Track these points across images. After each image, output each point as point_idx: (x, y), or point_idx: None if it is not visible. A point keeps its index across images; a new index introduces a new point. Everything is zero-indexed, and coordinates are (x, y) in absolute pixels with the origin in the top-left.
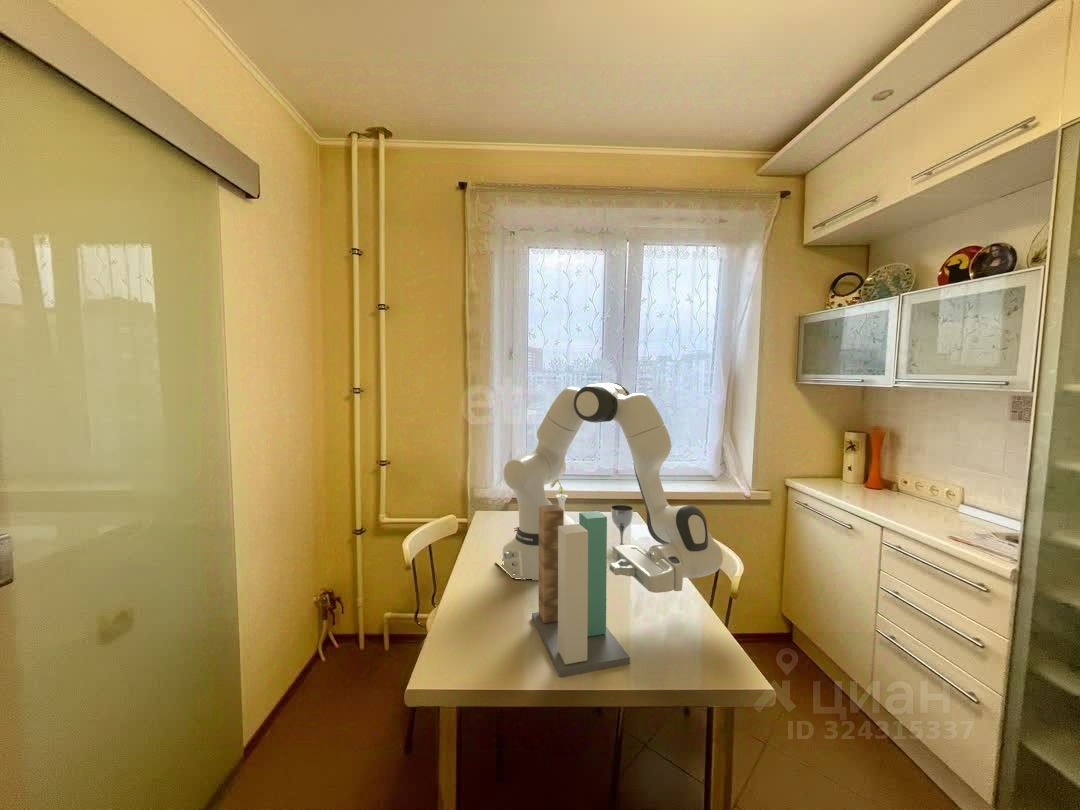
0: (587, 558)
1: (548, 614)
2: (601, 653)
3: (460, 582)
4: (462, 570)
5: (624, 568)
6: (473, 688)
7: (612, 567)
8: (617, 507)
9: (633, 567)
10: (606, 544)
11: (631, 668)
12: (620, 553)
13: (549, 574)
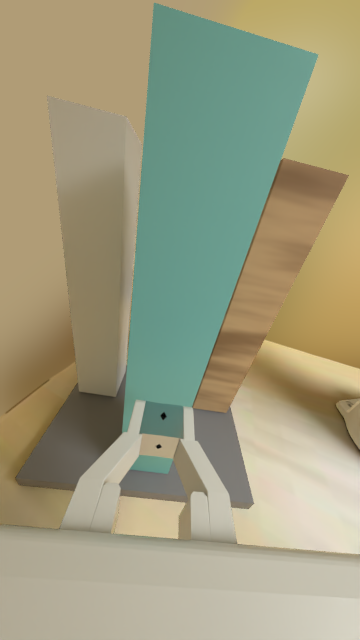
0: (59, 202)
1: None
2: (77, 423)
3: (301, 353)
4: (333, 361)
5: (110, 447)
6: (129, 319)
7: (160, 403)
8: None
9: (63, 523)
10: (136, 247)
11: (6, 479)
12: (322, 552)
13: None
